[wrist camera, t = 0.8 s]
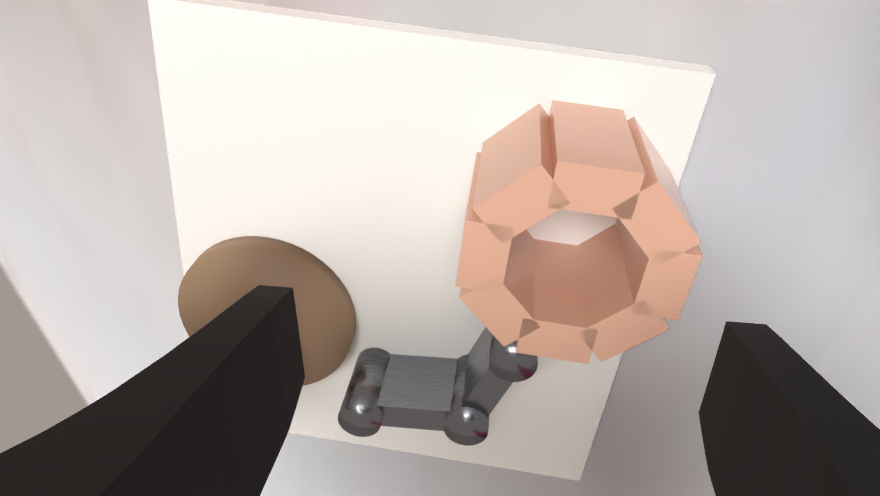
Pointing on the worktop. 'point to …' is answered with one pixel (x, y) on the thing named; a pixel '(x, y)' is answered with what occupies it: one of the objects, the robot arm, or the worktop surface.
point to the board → (393, 183)
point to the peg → (274, 264)
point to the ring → (585, 265)
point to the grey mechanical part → (433, 390)
